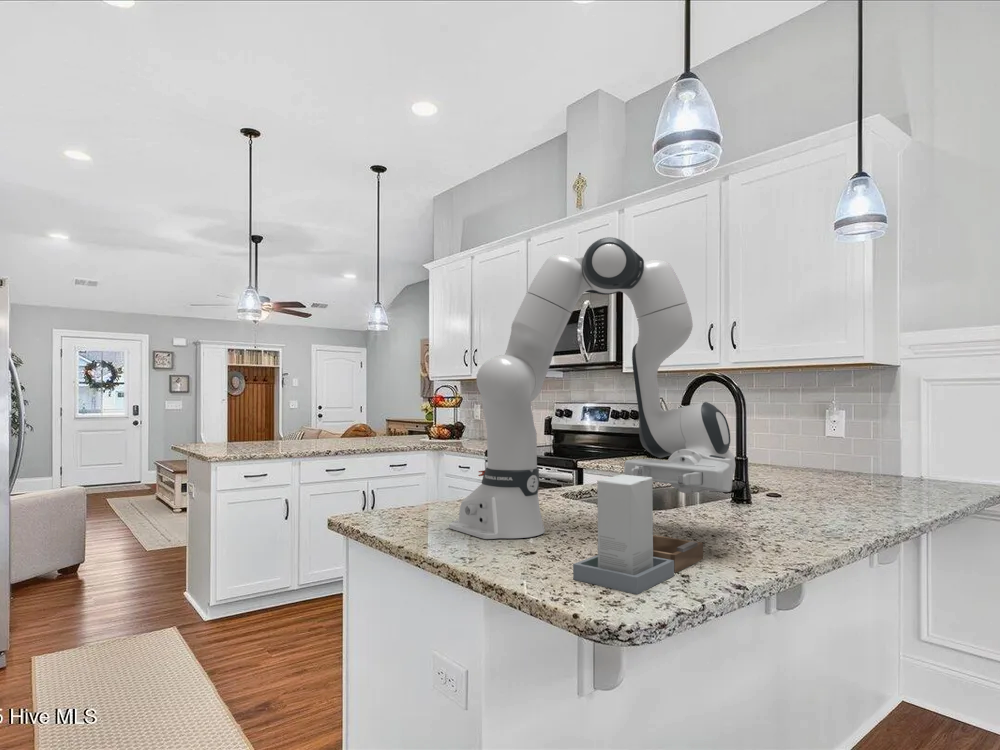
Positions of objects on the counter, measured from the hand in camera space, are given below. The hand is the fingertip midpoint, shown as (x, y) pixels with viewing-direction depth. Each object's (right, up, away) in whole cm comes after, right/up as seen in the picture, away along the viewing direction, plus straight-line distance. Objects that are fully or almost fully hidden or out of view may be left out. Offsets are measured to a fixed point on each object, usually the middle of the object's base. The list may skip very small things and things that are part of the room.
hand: (657, 476), depth 111 cm
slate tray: (-9, -15, -12) cm, 21 cm away
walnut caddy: (0, -15, -2) cm, 15 cm away
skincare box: (-8, -14, -12) cm, 20 cm away
